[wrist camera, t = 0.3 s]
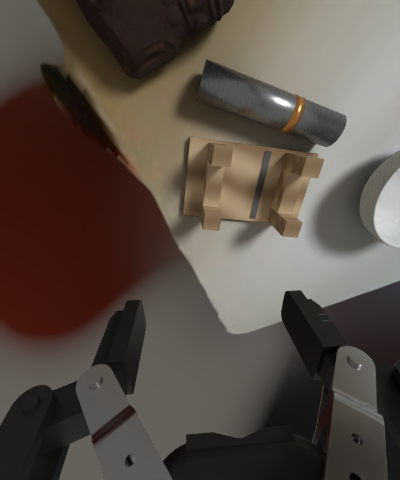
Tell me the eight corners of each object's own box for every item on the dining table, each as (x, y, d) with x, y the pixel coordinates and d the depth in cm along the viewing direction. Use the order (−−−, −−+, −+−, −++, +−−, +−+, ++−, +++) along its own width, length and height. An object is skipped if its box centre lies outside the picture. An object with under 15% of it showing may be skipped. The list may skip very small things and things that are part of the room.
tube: (195, 101, 31) (196, 97, 27) (204, 63, 29) (208, 53, 25) (317, 146, 35) (334, 148, 31) (332, 114, 33) (352, 113, 29)
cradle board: (190, 136, 33) (191, 138, 26) (314, 153, 35) (345, 158, 29) (183, 212, 38) (182, 230, 32) (292, 223, 41) (313, 241, 34)
